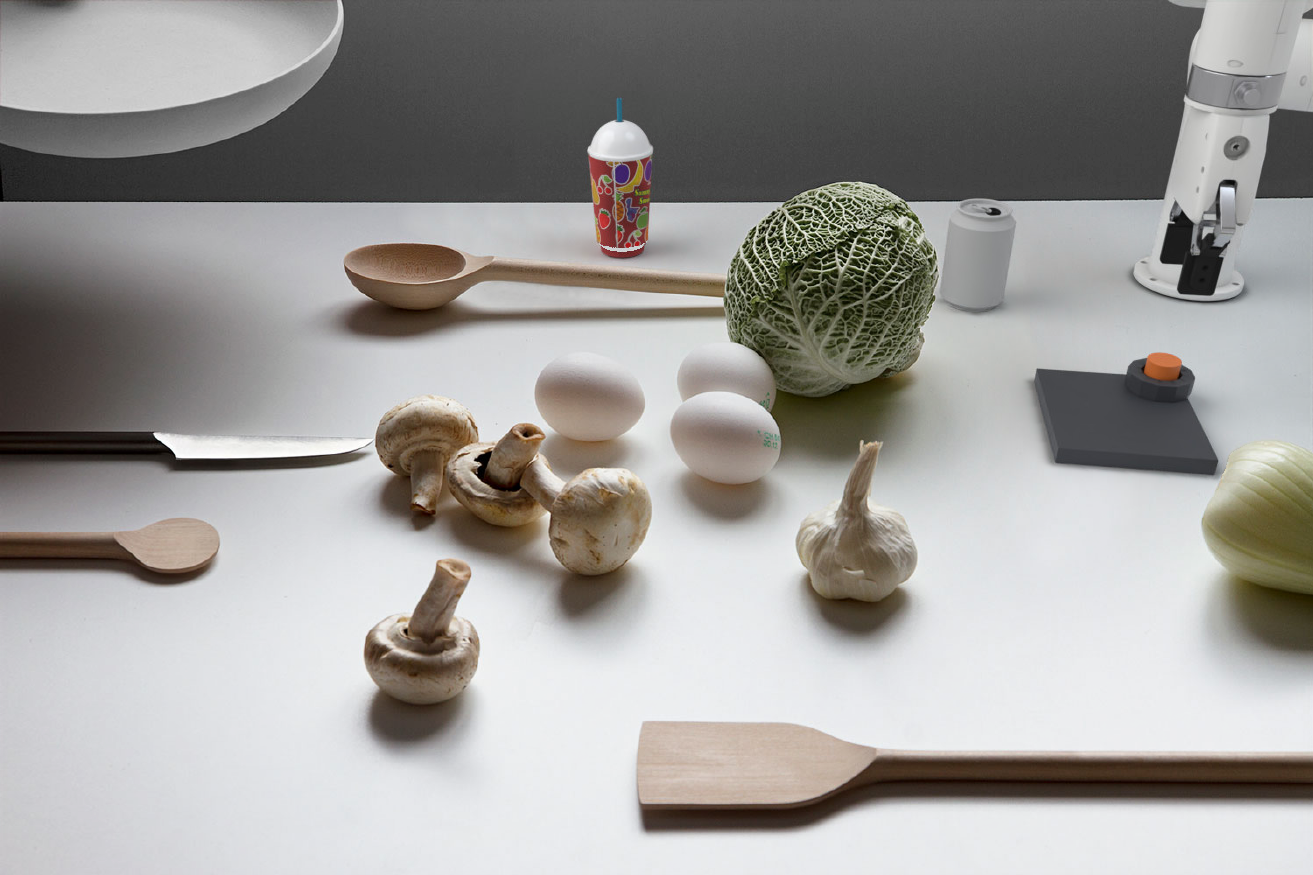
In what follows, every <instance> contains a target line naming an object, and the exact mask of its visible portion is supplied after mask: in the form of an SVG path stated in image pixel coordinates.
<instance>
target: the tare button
mask: <svg viewBox="0 0 1313 875" xmlns="http://www.w3.org/2000/svg"><path fill="white" fill-rule="evenodd" d="M1146 358H1147V361H1146V365H1145V369H1144V374H1146V375H1147V376H1149V377H1151V378H1154V379H1158V380H1164V381H1173V380H1177V379H1178V376H1179V372H1180V368H1181V365H1183V361H1182V359H1180V357H1179V356H1176V355H1174V354H1171V353H1168V352H1161V351H1159V352H1158V351H1157V352H1152V353H1149V354H1148V356H1147V357H1146Z"/></svg>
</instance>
